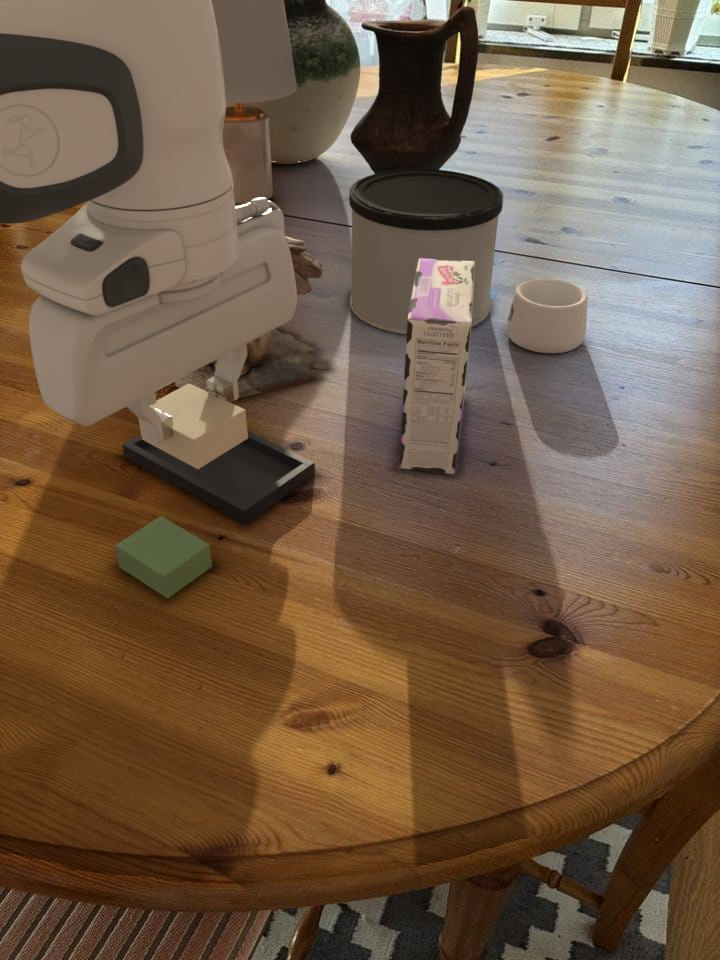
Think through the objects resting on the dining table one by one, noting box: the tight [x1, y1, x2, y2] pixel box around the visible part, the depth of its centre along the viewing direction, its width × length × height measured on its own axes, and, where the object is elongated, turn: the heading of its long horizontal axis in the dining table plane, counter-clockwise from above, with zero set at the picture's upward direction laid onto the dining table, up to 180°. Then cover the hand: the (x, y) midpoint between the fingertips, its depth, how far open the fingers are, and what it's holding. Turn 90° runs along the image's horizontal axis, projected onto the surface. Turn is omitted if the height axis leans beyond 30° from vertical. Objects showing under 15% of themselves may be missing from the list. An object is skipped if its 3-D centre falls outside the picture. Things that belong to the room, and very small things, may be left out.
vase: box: [226, 0, 361, 165], centre depth 158 cm, size 28×28×30 cm
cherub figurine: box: [173, 235, 329, 399], centre depth 96 cm, size 18×18×18 cm
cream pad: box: [137, 384, 249, 469], centre depth 62 cm, size 5×6×2 cm
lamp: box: [211, 0, 297, 206], centre depth 136 cm, size 19×19×34 cm
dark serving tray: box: [122, 429, 316, 525], centre depth 84 cm, size 10×17×2 cm, turn 52°
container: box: [348, 169, 504, 335], centre depth 110 cm, size 19×19×15 cm
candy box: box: [398, 258, 475, 475], centre depth 84 cm, size 14×6×16 cm, turn 172°
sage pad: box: [115, 515, 213, 599], centre depth 72 cm, size 5×6×2 cm
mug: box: [505, 278, 589, 354], centre depth 106 cm, size 12×10×6 cm
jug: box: [350, 5, 479, 174], centre depth 140 cm, size 21×18×30 cm
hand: (192, 419), depth 62 cm, fingers closed on cream pad, 5 cm apart
